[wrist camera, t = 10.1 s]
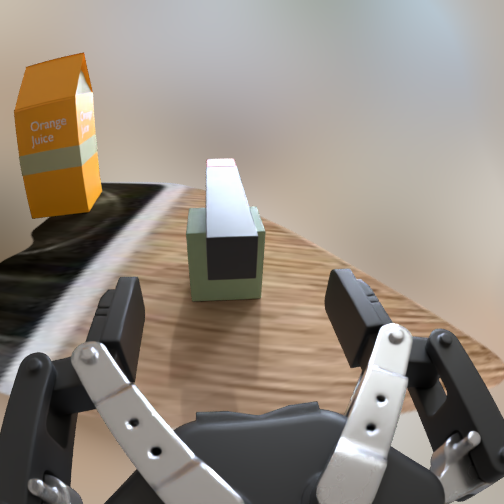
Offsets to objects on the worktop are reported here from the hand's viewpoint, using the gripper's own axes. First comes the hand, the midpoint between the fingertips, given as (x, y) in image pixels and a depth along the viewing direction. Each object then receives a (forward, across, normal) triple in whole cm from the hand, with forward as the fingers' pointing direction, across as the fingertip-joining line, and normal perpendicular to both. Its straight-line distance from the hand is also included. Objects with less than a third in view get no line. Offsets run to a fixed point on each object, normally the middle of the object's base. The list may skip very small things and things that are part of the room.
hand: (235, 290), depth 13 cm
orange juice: (+28, +21, +7) cm, 36 cm away
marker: (+9, 0, 0) cm, 9 cm away
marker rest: (+9, 0, +7) cm, 12 cm away
